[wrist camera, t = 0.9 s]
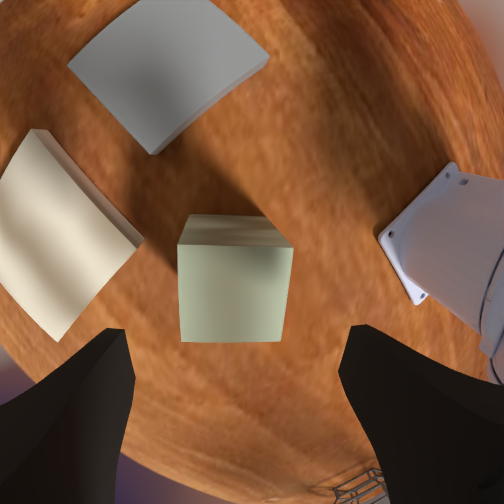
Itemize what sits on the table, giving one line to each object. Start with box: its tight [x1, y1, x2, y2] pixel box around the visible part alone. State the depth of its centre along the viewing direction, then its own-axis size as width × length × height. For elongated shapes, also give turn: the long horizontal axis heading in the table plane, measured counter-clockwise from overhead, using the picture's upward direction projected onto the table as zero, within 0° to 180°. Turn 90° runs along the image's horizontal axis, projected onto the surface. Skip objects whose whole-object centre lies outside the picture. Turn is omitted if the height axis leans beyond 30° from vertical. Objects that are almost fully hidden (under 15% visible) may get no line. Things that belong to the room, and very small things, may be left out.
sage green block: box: [177, 214, 294, 342], centre depth 14 cm, size 4×4×6 cm
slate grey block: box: [67, 0, 270, 155], centre depth 12 cm, size 8×8×2 cm
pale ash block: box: [0, 129, 145, 343], centre depth 14 cm, size 10×10×2 cm
